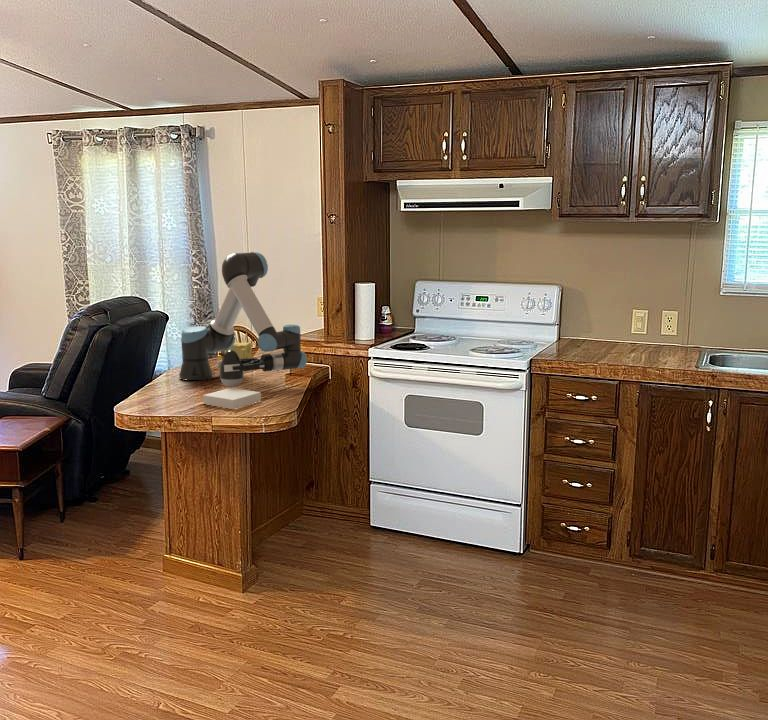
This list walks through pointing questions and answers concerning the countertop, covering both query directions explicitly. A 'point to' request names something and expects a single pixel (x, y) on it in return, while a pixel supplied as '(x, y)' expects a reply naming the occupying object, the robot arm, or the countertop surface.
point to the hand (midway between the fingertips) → (220, 366)
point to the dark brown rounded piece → (232, 376)
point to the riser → (231, 398)
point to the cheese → (242, 350)
